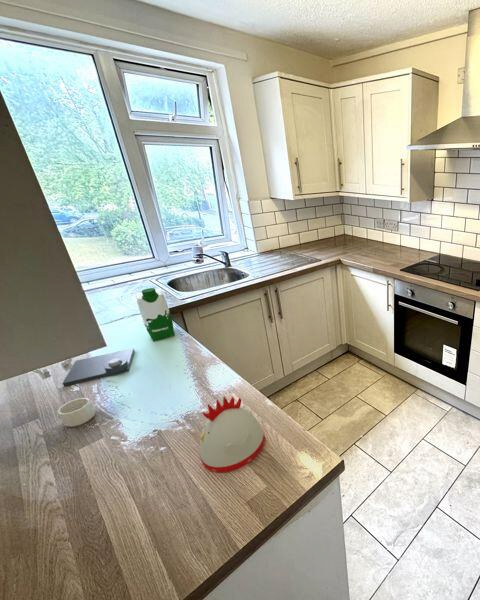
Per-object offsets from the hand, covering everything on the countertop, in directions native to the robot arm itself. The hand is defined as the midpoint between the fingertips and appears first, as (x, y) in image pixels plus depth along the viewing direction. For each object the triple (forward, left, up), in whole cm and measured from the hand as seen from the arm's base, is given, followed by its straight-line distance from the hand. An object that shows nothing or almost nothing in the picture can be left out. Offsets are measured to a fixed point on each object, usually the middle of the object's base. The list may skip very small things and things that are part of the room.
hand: (57, 372), depth 82 cm
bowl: (0, 0, -15) cm, 15 cm away
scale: (0, +27, -15) cm, 31 cm away
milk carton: (+16, +43, -15) cm, 48 cm away
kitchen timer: (+35, -31, -15) cm, 49 cm away
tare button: (+5, +22, -12) cm, 26 cm away
